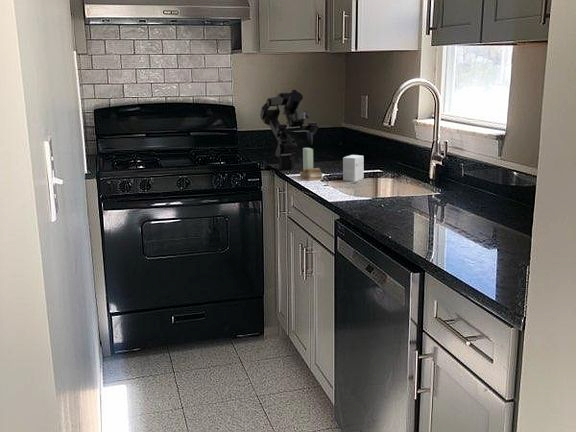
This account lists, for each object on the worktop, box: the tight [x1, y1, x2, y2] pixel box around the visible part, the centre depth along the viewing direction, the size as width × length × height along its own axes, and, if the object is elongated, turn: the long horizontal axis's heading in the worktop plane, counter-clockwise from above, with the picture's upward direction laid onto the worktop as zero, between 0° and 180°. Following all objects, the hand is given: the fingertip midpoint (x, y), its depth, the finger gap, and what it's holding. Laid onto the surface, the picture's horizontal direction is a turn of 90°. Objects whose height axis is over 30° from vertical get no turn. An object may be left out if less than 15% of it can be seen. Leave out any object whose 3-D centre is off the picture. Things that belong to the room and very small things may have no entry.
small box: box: [342, 154, 365, 184], centre depth 266 cm, size 8×6×10 cm
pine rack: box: [297, 167, 324, 182], centre depth 272 cm, size 12×7×5 cm, turn 21°
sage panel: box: [302, 147, 314, 170], centre depth 273 cm, size 5×3×12 cm, turn 21°
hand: (302, 145), depth 277 cm, fingers open, 9 cm apart
